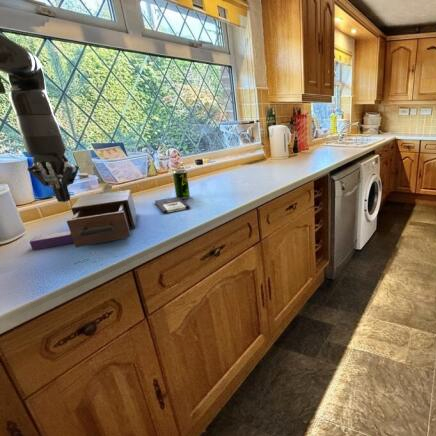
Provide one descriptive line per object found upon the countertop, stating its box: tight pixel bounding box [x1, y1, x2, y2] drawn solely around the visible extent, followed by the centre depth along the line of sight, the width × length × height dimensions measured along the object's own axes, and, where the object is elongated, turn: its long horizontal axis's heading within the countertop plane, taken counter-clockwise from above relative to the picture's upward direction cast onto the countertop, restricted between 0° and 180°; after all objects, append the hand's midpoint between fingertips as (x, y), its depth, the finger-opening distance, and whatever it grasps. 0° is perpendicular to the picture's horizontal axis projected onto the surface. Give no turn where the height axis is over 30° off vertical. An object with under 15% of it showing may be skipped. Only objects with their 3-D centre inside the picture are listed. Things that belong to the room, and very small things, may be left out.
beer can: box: [172, 168, 191, 200], centre depth 129 cm, size 5×5×12 cm
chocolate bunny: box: [99, 182, 113, 194], centre depth 120 cm, size 6×8×10 cm
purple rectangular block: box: [29, 230, 74, 251], centre depth 87 cm, size 9×4×3 cm, turn 119°
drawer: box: [66, 203, 132, 248], centre depth 88 cm, size 19×13×8 cm
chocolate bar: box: [154, 196, 190, 214], centre depth 120 cm, size 9×1×18 cm
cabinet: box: [70, 189, 138, 230], centre depth 99 cm, size 16×14×10 cm
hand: (64, 201), depth 81 cm, fingers closed
